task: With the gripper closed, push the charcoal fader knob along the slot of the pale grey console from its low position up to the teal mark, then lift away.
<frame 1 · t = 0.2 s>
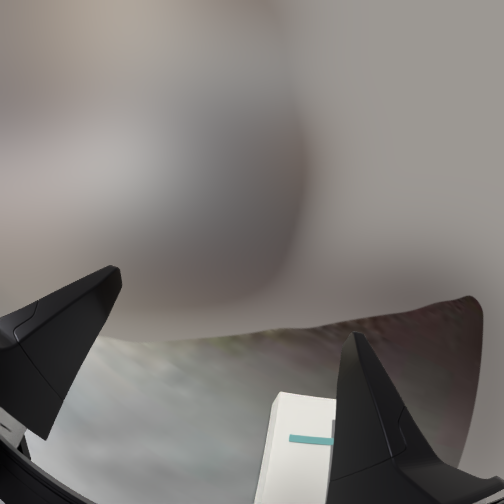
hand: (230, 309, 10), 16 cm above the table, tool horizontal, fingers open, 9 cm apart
console: (316, 500, 15), on the table
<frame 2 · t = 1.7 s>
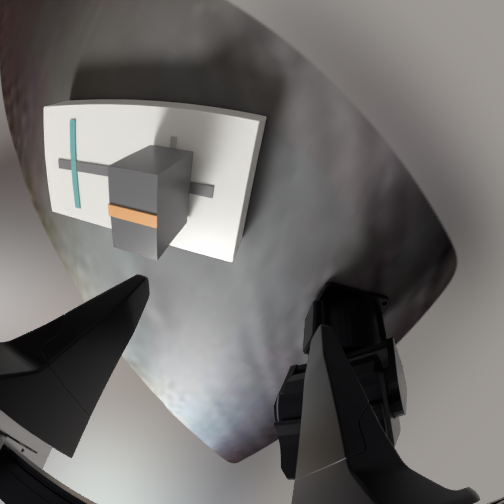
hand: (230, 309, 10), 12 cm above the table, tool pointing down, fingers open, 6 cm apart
fader: (151, 198, 15), point 6 cm above the table, slide at -4.0 cm
console: (142, 161, 20), on the table
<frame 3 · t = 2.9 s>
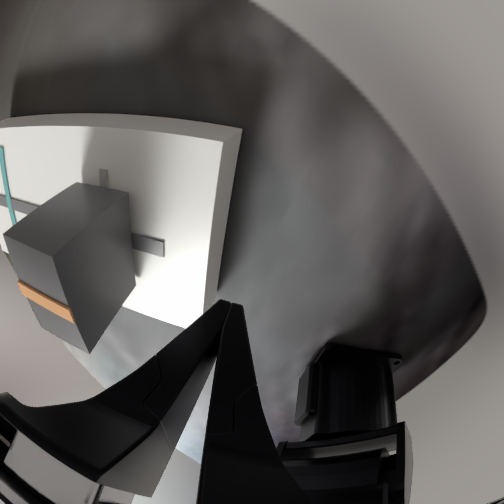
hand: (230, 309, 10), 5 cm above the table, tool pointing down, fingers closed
fader: (76, 265, 10), point 6 cm above the table, slide at -4.0 cm
console: (86, 193, 14), on the table
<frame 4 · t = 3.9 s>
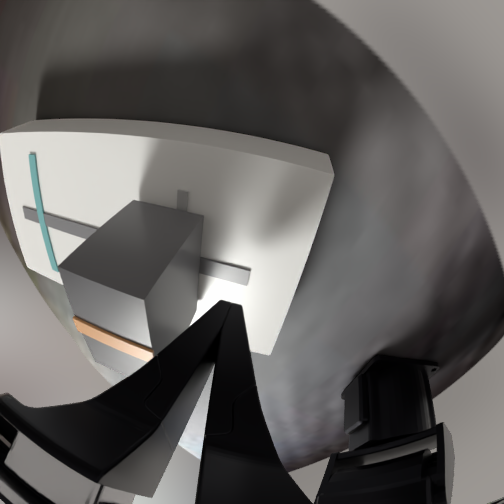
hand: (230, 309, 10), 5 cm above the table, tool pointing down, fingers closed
fader: (141, 295, 10), point 6 cm above the table, slide at -3.5 cm, touching gripper
console: (136, 209, 14), on the table
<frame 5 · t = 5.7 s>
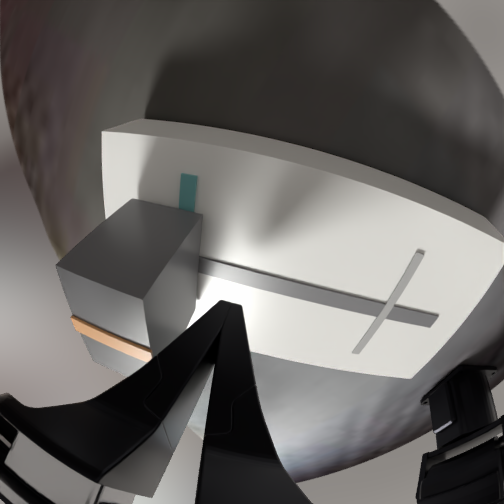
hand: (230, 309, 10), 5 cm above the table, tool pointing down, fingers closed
fader: (139, 294, 9), point 6 cm above the table, slide at 5.8 cm, touching gripper
console: (303, 250, 14), on the table
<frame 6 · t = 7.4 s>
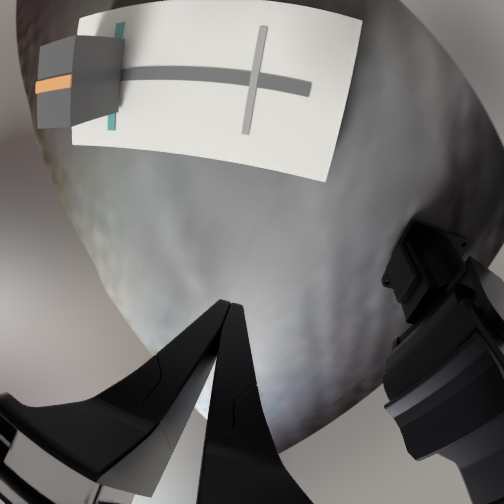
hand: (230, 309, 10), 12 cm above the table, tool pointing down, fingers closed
fader: (79, 79, 11), point 6 cm above the table, slide at 5.8 cm
console: (202, 74, 15), on the table
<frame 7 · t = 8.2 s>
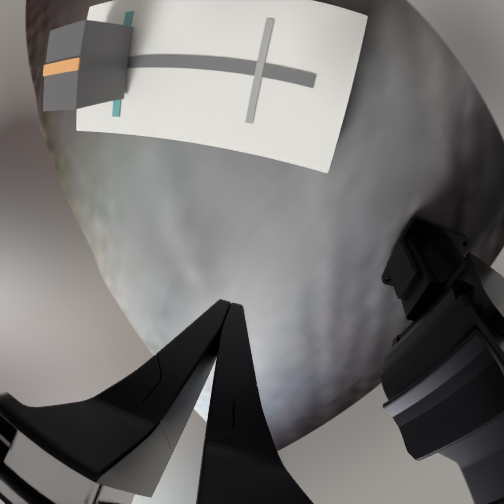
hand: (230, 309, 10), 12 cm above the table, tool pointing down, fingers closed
fader: (86, 64, 11), point 6 cm above the table, slide at 5.8 cm
console: (208, 65, 15), on the table
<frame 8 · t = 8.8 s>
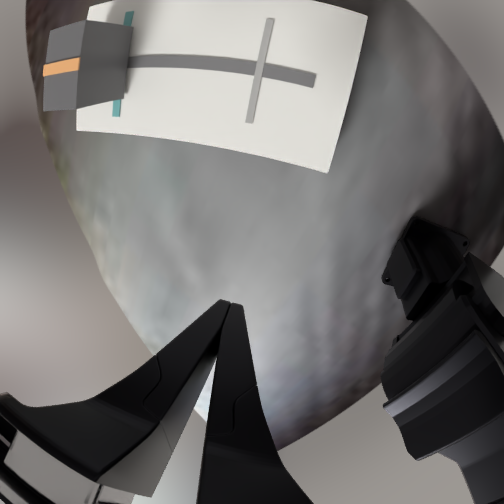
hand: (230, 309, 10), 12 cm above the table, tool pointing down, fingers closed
fader: (86, 64, 11), point 6 cm above the table, slide at 5.8 cm
console: (208, 65, 15), on the table
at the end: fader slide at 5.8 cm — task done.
